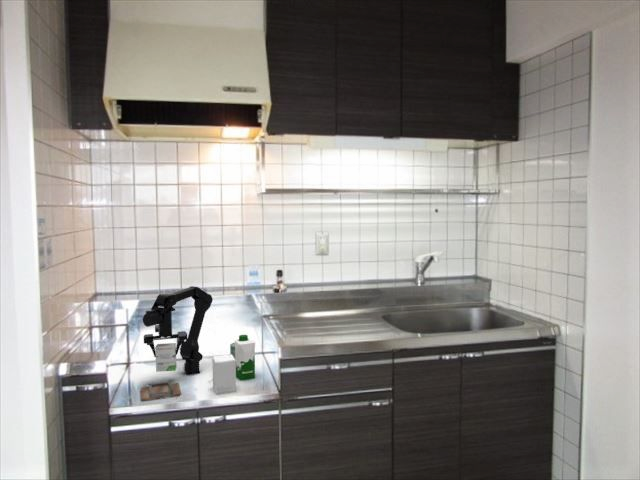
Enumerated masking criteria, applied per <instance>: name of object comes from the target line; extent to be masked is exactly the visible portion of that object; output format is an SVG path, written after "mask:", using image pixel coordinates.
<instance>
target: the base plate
mask: <svg viewBox="0 0 640 480" xmlns="http://www.w3.org/2000/svg"><path fill="white" fill-rule="evenodd" d="M180 395H181V396H182V391H181V388H180V384H179V382H172V381H171V380H170V381H161V382H160V381H159V382H154V383H148V386H142V387H140V398H141V399H140V400H141V401H143V402H150V401H154V400H153V399H156V400H161V399H160V398H163V399H166V398H165V397H170V398H173V397H172V396H177V397H181V396H180Z"/></svg>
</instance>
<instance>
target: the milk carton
mask: <svg viewBox="0 0 640 480" xmlns="http://www.w3.org/2000/svg"><path fill="white" fill-rule="evenodd" d="M234 343H235V360H236V379H238V380H239V381H246V380H252V379H255V378H256V350H255V349H256V342H255V341H254V340H253V339H251V338H250V337H249V336H248V334H240V335H238V339H235V340H234Z"/></svg>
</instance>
